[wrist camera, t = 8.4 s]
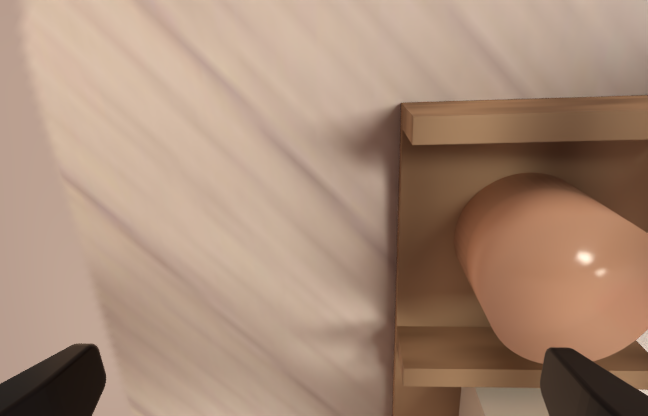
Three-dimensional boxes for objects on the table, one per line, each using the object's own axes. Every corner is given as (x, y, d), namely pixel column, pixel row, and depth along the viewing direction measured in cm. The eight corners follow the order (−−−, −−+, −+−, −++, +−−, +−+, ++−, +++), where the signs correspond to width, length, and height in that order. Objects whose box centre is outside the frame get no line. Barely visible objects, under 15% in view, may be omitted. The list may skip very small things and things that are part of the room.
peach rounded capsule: (602, 170, 18) (691, 215, 13) (577, 292, 20) (645, 366, 15) (459, 173, 18) (496, 217, 14) (449, 292, 20) (478, 364, 16)
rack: (669, 94, 17) (750, 107, 14) (572, 482, 26) (607, 552, 22) (401, 102, 18) (413, 116, 15) (390, 477, 26) (397, 544, 23)
